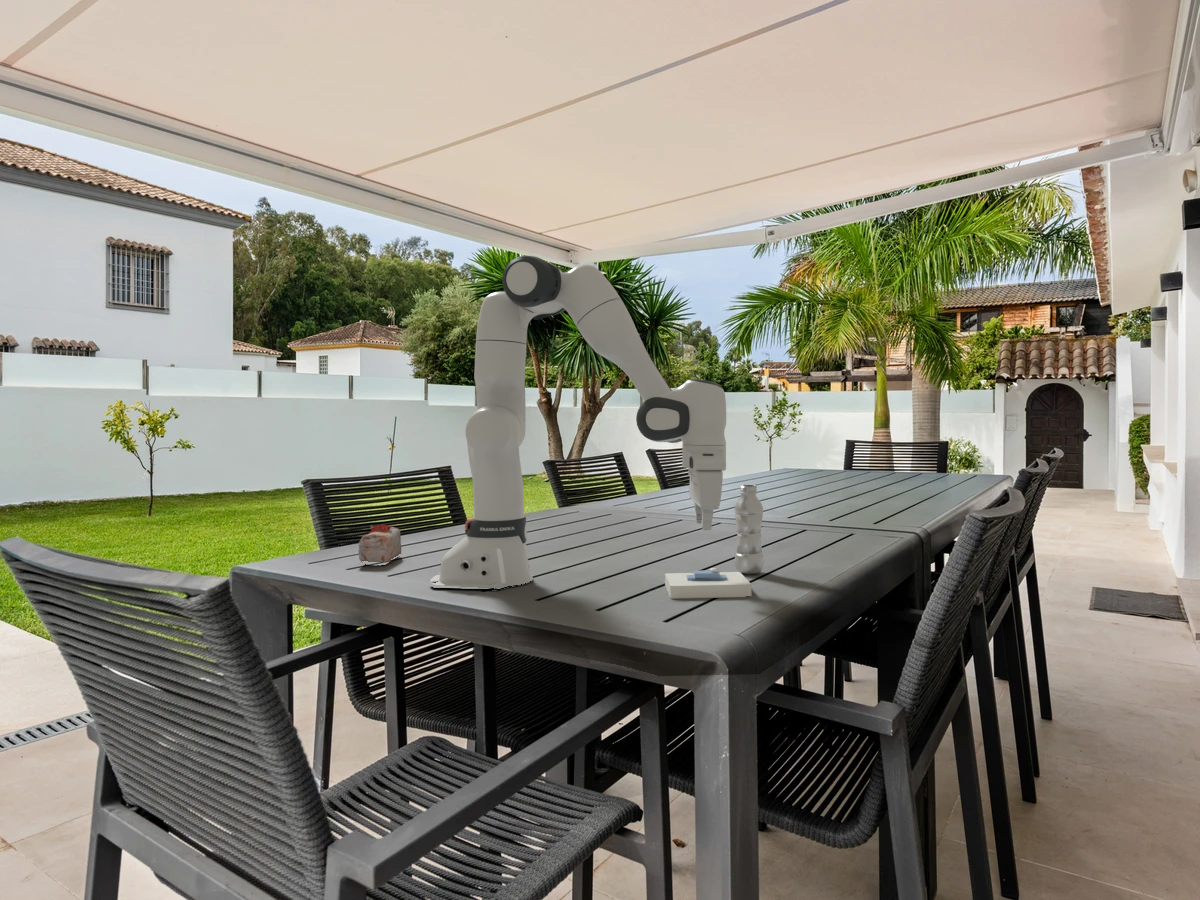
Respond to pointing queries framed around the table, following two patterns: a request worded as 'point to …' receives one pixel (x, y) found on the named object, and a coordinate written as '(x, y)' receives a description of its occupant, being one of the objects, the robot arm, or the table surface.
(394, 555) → the food item
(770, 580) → the table surface
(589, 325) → the robot arm
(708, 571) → the servo
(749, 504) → the plastic bottle
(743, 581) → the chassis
